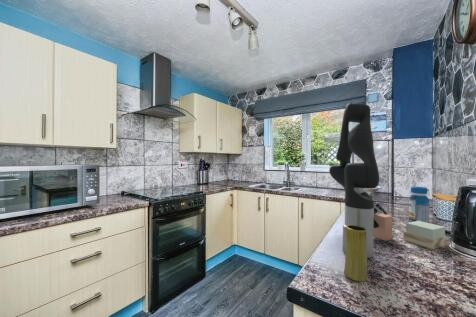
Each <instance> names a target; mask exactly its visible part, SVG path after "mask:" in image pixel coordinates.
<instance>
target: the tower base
mask: <svg viewBox="0 0 476 317" xmlns="http://www.w3.org/2000/svg"><path fill="white" fill-rule="evenodd" d="M402 238H403V241H405V242H409V243H412V244H415V245H418V246H422V247H424V248H428V249H430V250H434V249H439V248H443V247H446V246H447V236H446V235H445V237H442V238H438V239H434V240H431V239H428V238H424V237H421V236H418V235H414V234H411V233H407V232H406V230H405V231H403V236H402Z"/></svg>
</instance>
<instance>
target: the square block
mask: <svg viewBox="0 0 476 317" xmlns="http://www.w3.org/2000/svg"><path fill="white" fill-rule="evenodd" d="M374 220H375V221H376V222H377V223H378V225H379V227H377V228H374V236H373V238H377V239H379V240H382V241H390V240H393V215H389V214H387V215H385V214H381V213H380V214H374Z"/></svg>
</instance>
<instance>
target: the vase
mask: <svg viewBox="0 0 476 317" xmlns="http://www.w3.org/2000/svg"><path fill="white" fill-rule="evenodd" d="M344 258H345V260H344V271H343V274H344V275H345V276H346V277H347V278H349V279H351V280H353V281H355V282H366V281H368V279H369V278H368V265H367V264H368V258H367V247H366V229H365V228H364V227H361V226H357V225H347V226H346V252H345V257H344Z"/></svg>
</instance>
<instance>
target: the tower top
mask: <svg viewBox="0 0 476 317" xmlns="http://www.w3.org/2000/svg"><path fill="white" fill-rule="evenodd" d="M405 226H406V227H405V231H406V232H407V233H411V234H414V235H418V236H421V237H424V238H428V239H431V240H434V239H438V238H442V237H445V236H446V227H445V226H442V225H438V224H433V223H430V222H429V223H426V222H422V221H414V222H409V221H408V222H406V223H405Z"/></svg>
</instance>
